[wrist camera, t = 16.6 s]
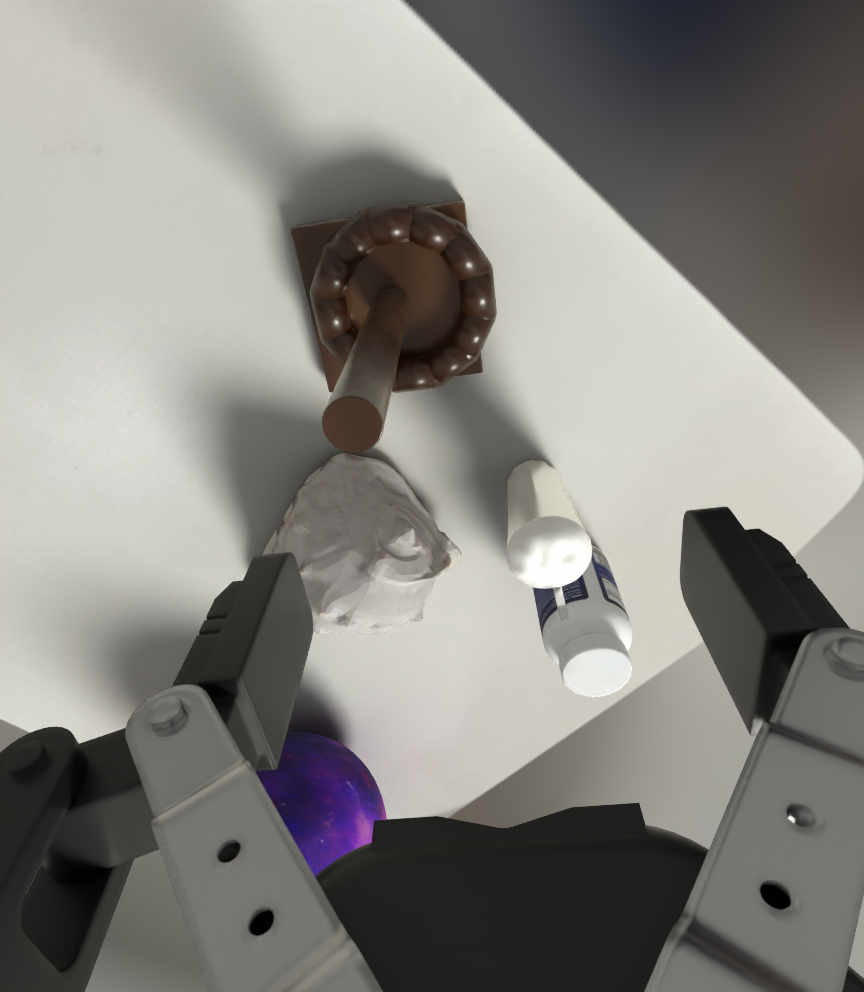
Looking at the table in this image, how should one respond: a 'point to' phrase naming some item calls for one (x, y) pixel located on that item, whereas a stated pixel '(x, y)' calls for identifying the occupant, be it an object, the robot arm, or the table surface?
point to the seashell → (362, 546)
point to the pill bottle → (588, 631)
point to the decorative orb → (323, 797)
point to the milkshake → (544, 531)
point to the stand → (382, 325)
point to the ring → (426, 232)
